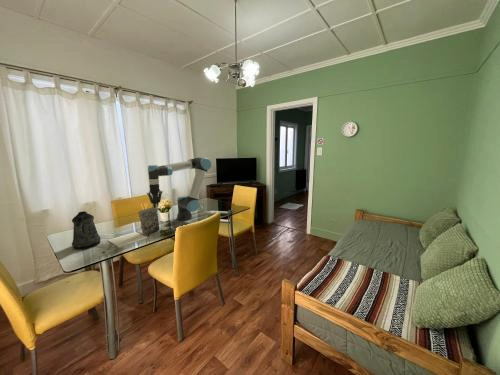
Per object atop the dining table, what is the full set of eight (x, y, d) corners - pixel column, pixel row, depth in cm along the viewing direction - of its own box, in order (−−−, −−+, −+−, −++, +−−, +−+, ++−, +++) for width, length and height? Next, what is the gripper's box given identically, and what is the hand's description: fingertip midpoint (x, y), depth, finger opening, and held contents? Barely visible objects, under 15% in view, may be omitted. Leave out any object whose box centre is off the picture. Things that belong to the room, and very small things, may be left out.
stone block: (146, 235, 169) (142, 212, 165) (141, 233, 173) (137, 211, 168) (160, 229, 180) (157, 207, 176) (155, 228, 184) (152, 206, 179)
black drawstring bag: (97, 238, 163) (93, 207, 159) (105, 245, 151) (101, 212, 147) (69, 245, 150) (64, 212, 146) (76, 253, 138) (71, 217, 134)
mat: (137, 232, 176) (137, 231, 176) (149, 237, 165) (149, 237, 165) (107, 240, 159) (107, 240, 159) (119, 247, 147) (118, 246, 147)
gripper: (158, 182, 181) (160, 208, 185) (144, 184, 171) (146, 211, 175) (163, 183, 177) (165, 210, 181) (149, 185, 167) (151, 213, 171)
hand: (156, 210), depth 178 cm, fingers closed
